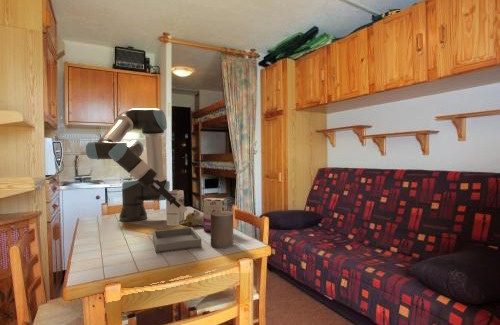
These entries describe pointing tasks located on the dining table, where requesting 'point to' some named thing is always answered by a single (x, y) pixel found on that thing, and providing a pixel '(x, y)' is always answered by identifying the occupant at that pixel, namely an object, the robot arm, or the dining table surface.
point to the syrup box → (175, 209)
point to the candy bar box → (212, 210)
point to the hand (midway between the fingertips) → (183, 209)
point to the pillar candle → (221, 229)
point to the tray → (176, 240)
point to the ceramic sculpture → (194, 219)
